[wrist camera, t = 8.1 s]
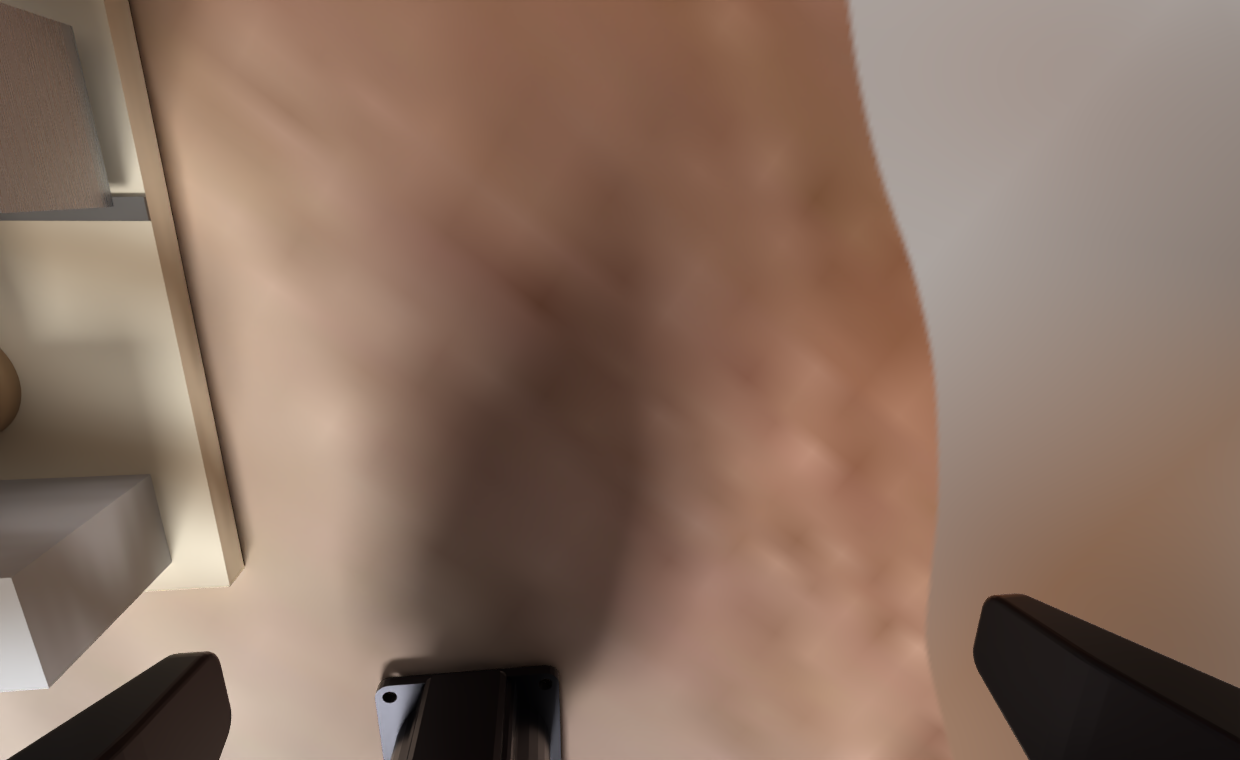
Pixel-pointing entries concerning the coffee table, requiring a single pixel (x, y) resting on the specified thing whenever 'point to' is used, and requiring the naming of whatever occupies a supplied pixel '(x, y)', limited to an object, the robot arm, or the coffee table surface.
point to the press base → (103, 390)
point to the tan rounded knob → (8, 392)
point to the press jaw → (46, 119)
